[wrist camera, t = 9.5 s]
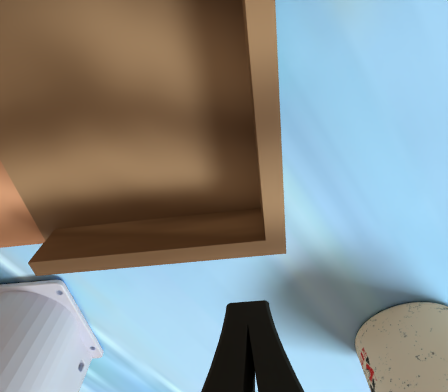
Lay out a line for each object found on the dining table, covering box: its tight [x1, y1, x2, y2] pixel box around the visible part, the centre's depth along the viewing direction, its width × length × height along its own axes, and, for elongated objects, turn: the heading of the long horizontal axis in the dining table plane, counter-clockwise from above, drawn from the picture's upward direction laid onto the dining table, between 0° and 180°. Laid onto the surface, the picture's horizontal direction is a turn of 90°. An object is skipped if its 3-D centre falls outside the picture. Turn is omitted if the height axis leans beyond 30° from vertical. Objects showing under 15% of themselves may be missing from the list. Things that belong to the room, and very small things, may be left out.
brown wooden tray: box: [0, 0, 286, 276], centre depth 15 cm, size 14×23×4 cm, turn 98°
